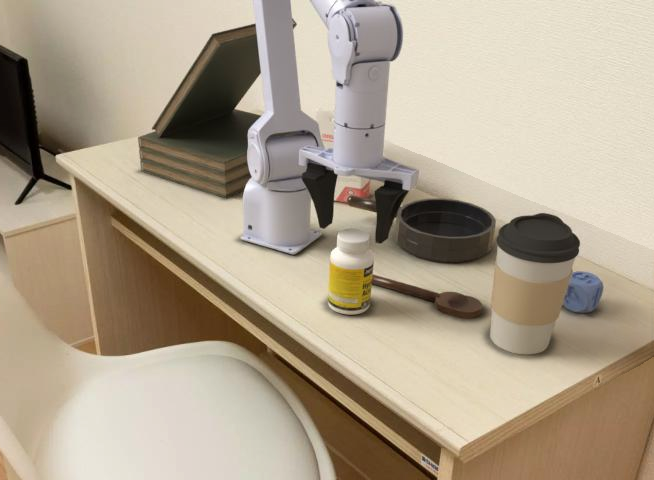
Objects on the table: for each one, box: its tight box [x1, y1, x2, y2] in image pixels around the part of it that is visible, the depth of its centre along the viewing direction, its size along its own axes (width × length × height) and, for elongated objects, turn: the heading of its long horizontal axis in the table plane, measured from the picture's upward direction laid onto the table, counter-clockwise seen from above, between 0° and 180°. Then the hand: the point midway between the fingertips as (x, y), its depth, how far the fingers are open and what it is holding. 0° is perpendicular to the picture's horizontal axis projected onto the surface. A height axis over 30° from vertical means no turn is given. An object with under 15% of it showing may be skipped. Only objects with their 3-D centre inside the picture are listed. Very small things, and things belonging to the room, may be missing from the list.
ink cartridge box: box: [315, 108, 371, 204], centre depth 128 cm, size 9×5×15 cm, turn 68°
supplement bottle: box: [327, 228, 375, 316], centre depth 99 cm, size 5×5×10 cm
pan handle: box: [346, 195, 402, 219], centre depth 121 cm, size 9×2×2 cm, turn 60°
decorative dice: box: [562, 270, 604, 314], centre depth 102 cm, size 4×4×4 cm
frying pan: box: [394, 197, 497, 263], centre depth 117 cm, size 14×14×4 cm
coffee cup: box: [489, 212, 581, 355], centre depth 91 cm, size 9×9×15 cm
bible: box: [137, 17, 301, 199], centre depth 136 cm, size 23×20×25 cm
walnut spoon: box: [372, 273, 483, 319], centre depth 104 cm, size 19×4×1 cm, turn 60°
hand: (353, 232), depth 96 cm, fingers open, 7 cm apart
